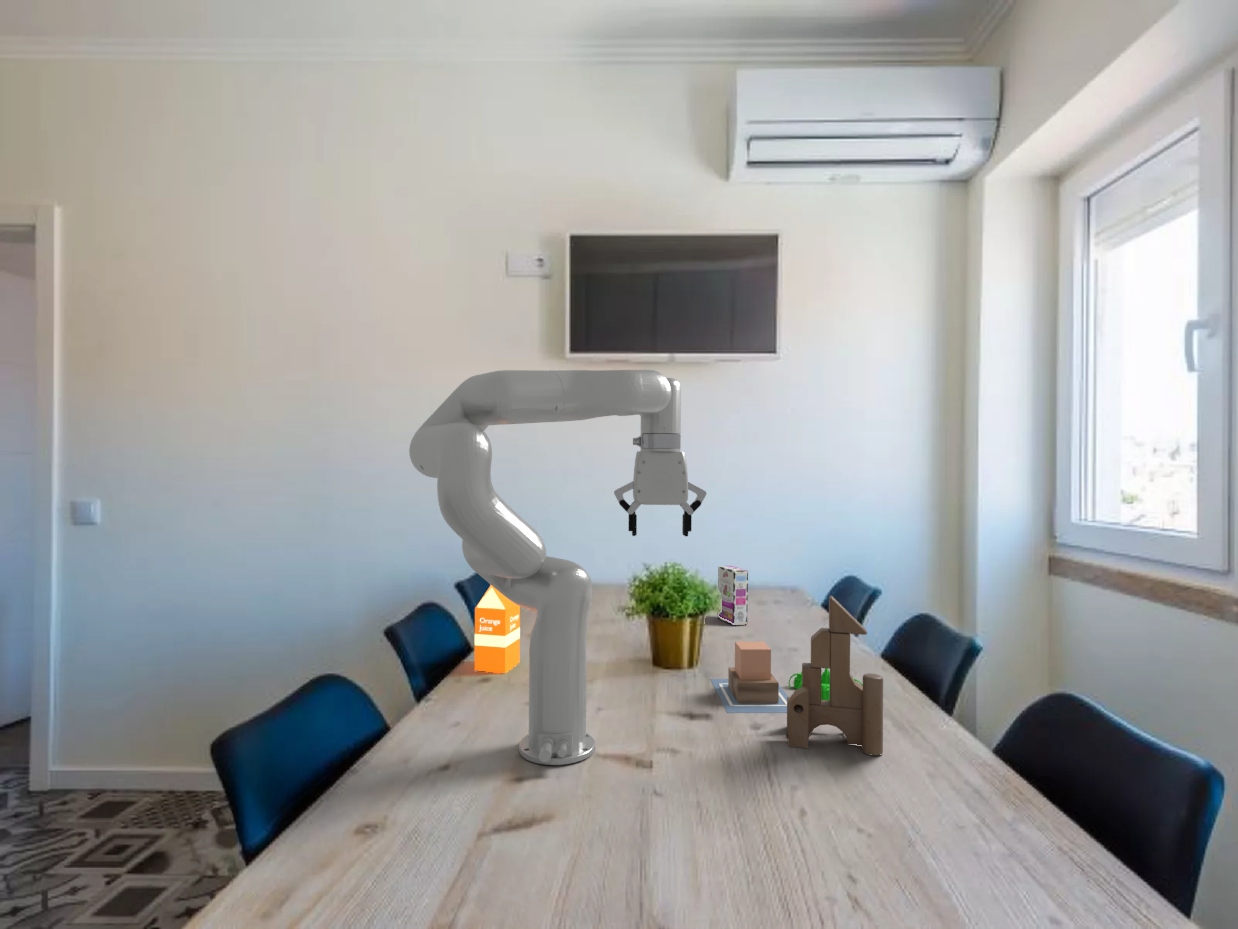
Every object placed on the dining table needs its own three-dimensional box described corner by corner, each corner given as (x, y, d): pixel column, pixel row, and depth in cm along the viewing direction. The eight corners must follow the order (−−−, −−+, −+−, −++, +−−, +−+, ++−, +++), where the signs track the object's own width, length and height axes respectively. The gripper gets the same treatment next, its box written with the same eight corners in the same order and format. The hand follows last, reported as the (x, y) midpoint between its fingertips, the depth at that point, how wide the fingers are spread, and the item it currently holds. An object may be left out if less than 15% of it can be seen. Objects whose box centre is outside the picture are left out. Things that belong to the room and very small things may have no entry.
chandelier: (865, 713, 131) (865, 678, 131) (785, 704, 136) (785, 670, 135) (863, 689, 145) (863, 657, 145) (791, 681, 150) (791, 650, 150)
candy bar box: (748, 625, 201) (749, 570, 201) (733, 626, 199) (733, 571, 199) (731, 617, 212) (731, 564, 212) (716, 618, 210) (717, 565, 210)
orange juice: (473, 671, 155) (474, 583, 155) (490, 660, 163) (490, 577, 163) (505, 674, 153) (506, 585, 153) (520, 663, 161) (521, 579, 161)
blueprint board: (801, 717, 127) (801, 712, 127) (727, 718, 127) (727, 712, 127) (774, 683, 147) (774, 678, 147) (710, 683, 147) (710, 678, 147)
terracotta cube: (770, 679, 134) (770, 649, 134) (740, 679, 134) (741, 649, 134) (763, 670, 140) (763, 641, 140) (734, 670, 140) (734, 641, 140)
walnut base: (778, 703, 132) (778, 682, 132) (737, 703, 132) (738, 682, 132) (766, 686, 142) (766, 667, 142) (728, 686, 142) (728, 667, 142)
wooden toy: (786, 747, 114) (787, 599, 114) (787, 732, 121) (788, 592, 121) (884, 758, 110) (885, 604, 110) (879, 741, 117) (880, 597, 117)
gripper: (614, 443, 123) (614, 537, 123) (709, 444, 123) (708, 537, 123) (614, 444, 130) (613, 533, 130) (703, 445, 131) (702, 533, 131)
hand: (659, 535), depth 127 cm, fingers open, 9 cm apart
